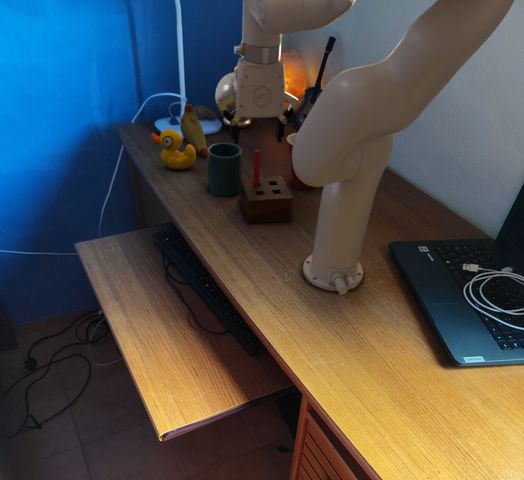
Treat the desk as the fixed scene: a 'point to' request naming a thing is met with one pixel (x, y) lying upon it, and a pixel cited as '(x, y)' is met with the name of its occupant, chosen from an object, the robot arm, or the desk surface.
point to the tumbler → (224, 169)
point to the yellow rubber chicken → (193, 130)
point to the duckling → (174, 150)
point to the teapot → (224, 89)
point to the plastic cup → (295, 179)
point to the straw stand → (266, 200)
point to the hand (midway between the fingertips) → (257, 140)
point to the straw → (256, 167)
